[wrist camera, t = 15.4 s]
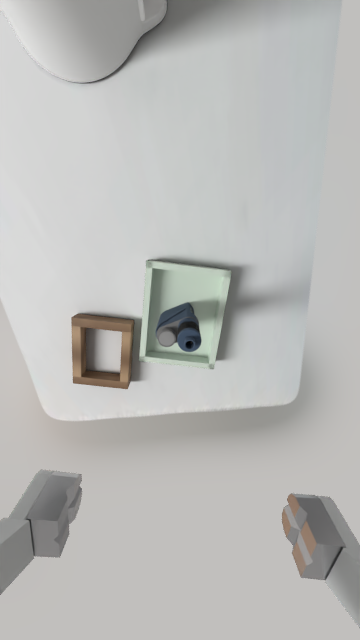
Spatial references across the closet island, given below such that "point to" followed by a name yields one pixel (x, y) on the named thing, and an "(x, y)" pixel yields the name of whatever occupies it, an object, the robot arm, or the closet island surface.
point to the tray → (173, 290)
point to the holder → (79, 351)
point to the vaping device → (179, 328)
